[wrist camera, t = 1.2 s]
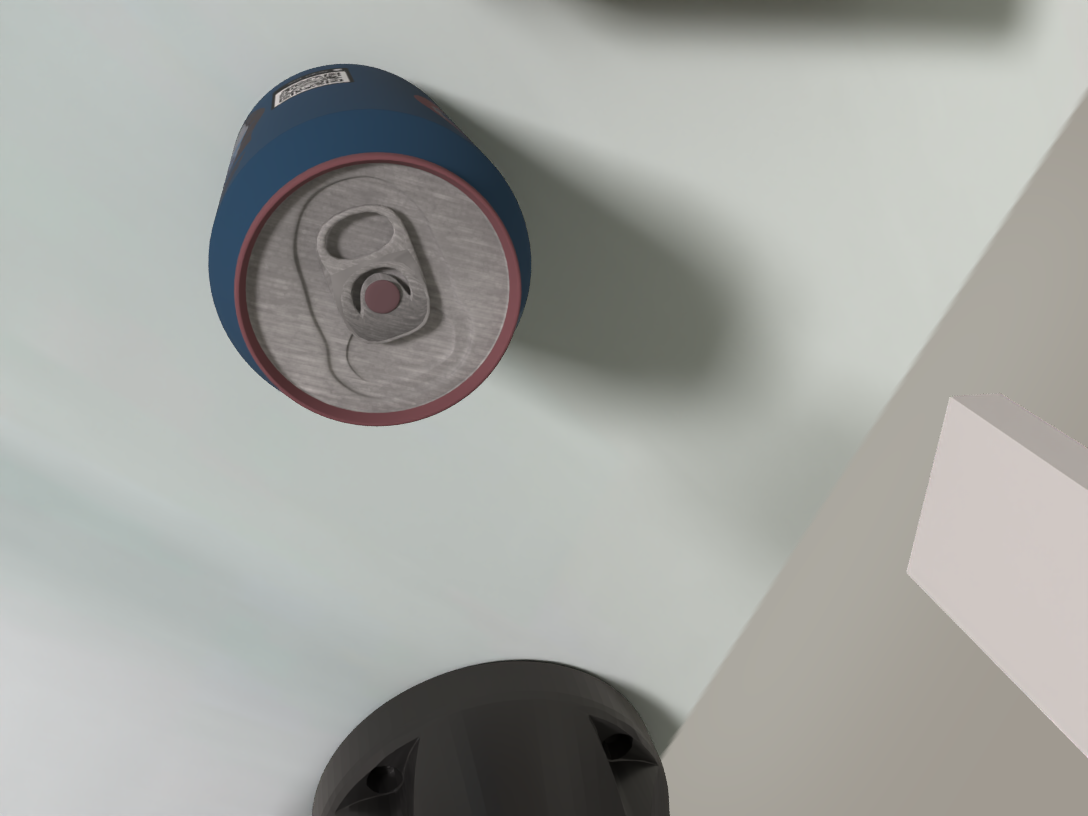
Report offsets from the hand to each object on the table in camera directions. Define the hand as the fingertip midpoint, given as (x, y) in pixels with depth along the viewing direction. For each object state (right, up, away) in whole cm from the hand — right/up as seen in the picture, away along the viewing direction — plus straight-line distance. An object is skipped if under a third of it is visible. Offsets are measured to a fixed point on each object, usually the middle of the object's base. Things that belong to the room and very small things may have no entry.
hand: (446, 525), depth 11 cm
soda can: (-5, +9, +19) cm, 21 cm away
